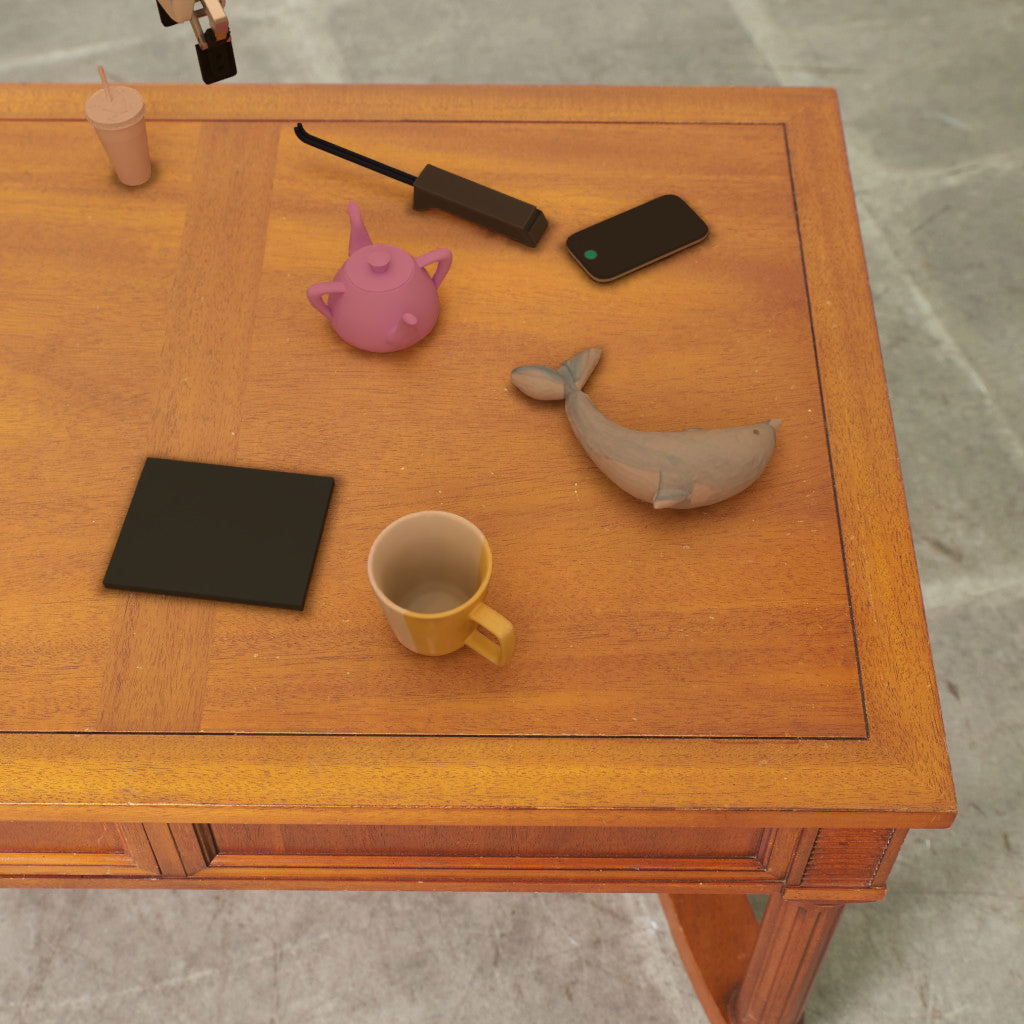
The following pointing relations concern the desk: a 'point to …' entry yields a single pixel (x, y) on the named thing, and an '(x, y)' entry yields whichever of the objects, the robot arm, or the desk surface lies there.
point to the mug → (438, 586)
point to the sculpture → (654, 443)
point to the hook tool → (453, 195)
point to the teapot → (381, 293)
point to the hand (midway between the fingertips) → (199, 49)
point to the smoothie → (121, 129)
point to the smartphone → (636, 238)
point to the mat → (221, 533)
